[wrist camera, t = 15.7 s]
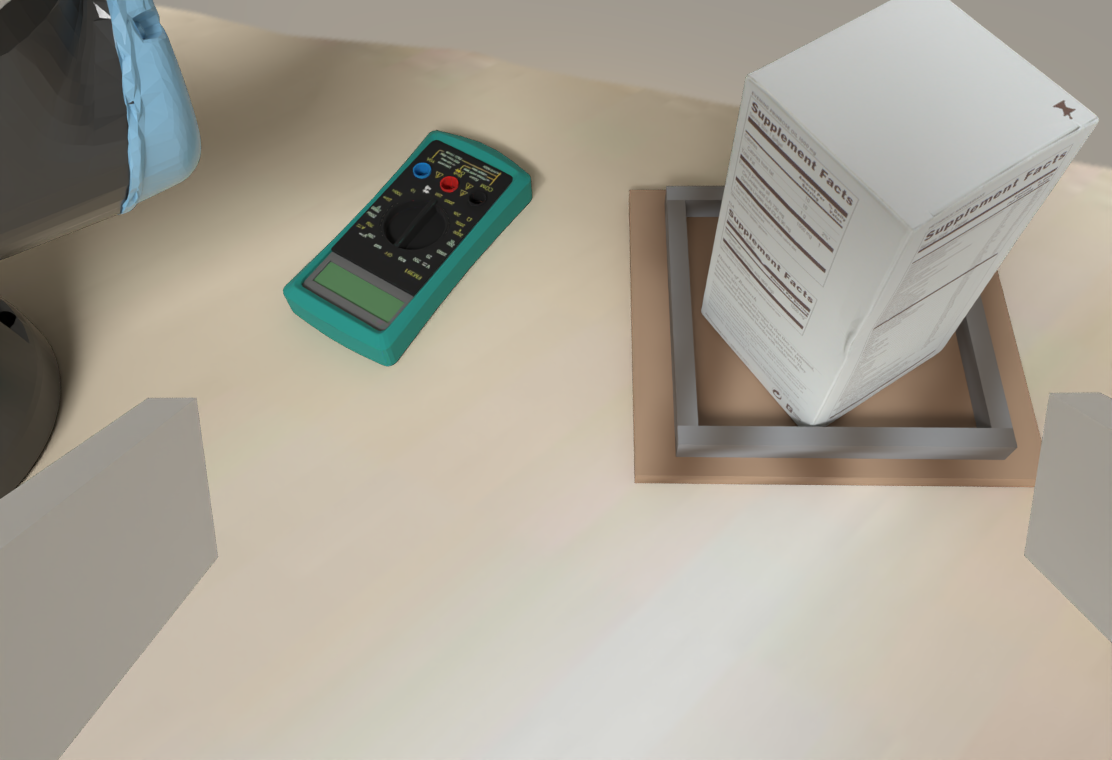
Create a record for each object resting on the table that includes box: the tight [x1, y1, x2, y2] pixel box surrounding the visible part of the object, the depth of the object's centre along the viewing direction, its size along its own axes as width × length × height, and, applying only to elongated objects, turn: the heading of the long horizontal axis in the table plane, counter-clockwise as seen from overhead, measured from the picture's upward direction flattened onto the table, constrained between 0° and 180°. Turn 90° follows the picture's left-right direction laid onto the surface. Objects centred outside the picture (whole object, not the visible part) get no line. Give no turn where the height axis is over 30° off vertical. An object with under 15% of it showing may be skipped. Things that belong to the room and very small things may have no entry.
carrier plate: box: [629, 186, 1042, 487], centre depth 48 cm, size 20×18×2 cm
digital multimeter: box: [283, 130, 532, 366], centre depth 51 cm, size 7×15×3 cm, turn 147°
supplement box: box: [701, 0, 1099, 427], centre depth 40 cm, size 10×9×17 cm
